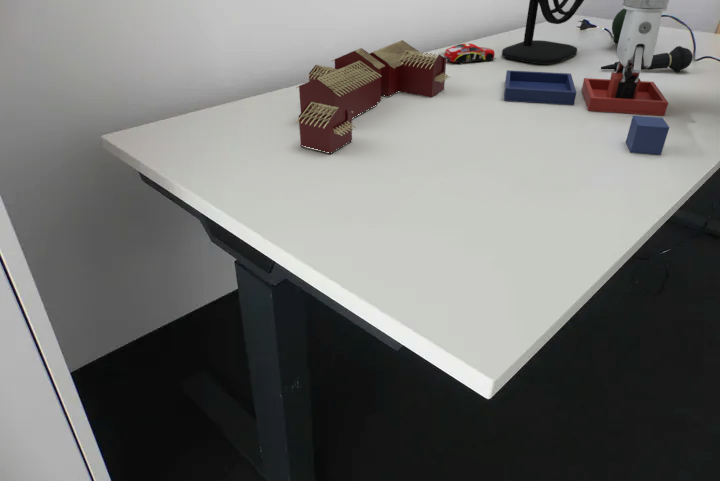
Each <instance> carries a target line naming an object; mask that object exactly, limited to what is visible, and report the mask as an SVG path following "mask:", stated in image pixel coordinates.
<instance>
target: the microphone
mask: <svg viewBox="0 0 720 481" xmlns="http://www.w3.org/2000/svg"><path fill="white" fill-rule="evenodd" d="M693 59H694V58H693V53H692V51H691V49H689V48H688V47H683V46H681V45H678V46H675V47H674V48H673V49H671V51H670V52H669V53H668V52H663V53H657V54H653V58H652V62H651V66H650V67H648V68H645V67H644V66H643V64H642V63H641V71H649V70H651V71H652V70H659V69H660V70H662V69H663V70H664V69H670V70H672V71H673V72H675V73H679V72H681V71H683V70H685V69H687V68H689V66H690V65H691V64H692V62H693ZM618 62H619V60H618V61H615V62H613V63H611V64H607V65H603V66H601V67H600V70H613V71H614V72H616V69H617V65H618ZM629 65H630V63H629Z"/></svg>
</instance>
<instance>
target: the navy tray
mask: <svg viewBox="0 0 720 481" xmlns="http://www.w3.org/2000/svg"><path fill="white" fill-rule="evenodd" d="M576 97H577V89H576V86H575V82H574V79H573V75H572V73H569V72H566V73H565V72H550V71H549V72H548V71H547V72H546V71H531V70H528V71H527V70H509V69H508V70H506V73H505V80H504V94H503V101H504V102H518V103H533V104H534V103H535V104H549V105H550V104H551V105H564V106H565V105H566V106H575V102H576Z"/></svg>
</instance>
